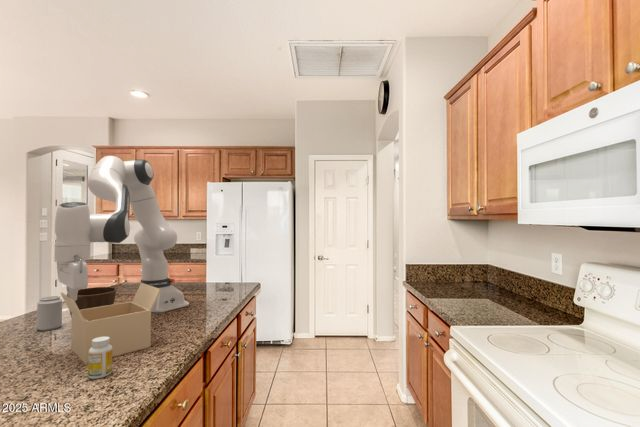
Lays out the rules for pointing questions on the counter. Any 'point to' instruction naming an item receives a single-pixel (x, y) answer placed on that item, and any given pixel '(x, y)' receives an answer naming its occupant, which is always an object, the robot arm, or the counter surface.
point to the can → (49, 313)
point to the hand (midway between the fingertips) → (72, 300)
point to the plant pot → (95, 297)
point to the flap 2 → (146, 295)
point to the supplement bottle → (100, 358)
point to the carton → (112, 328)
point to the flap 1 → (72, 306)
